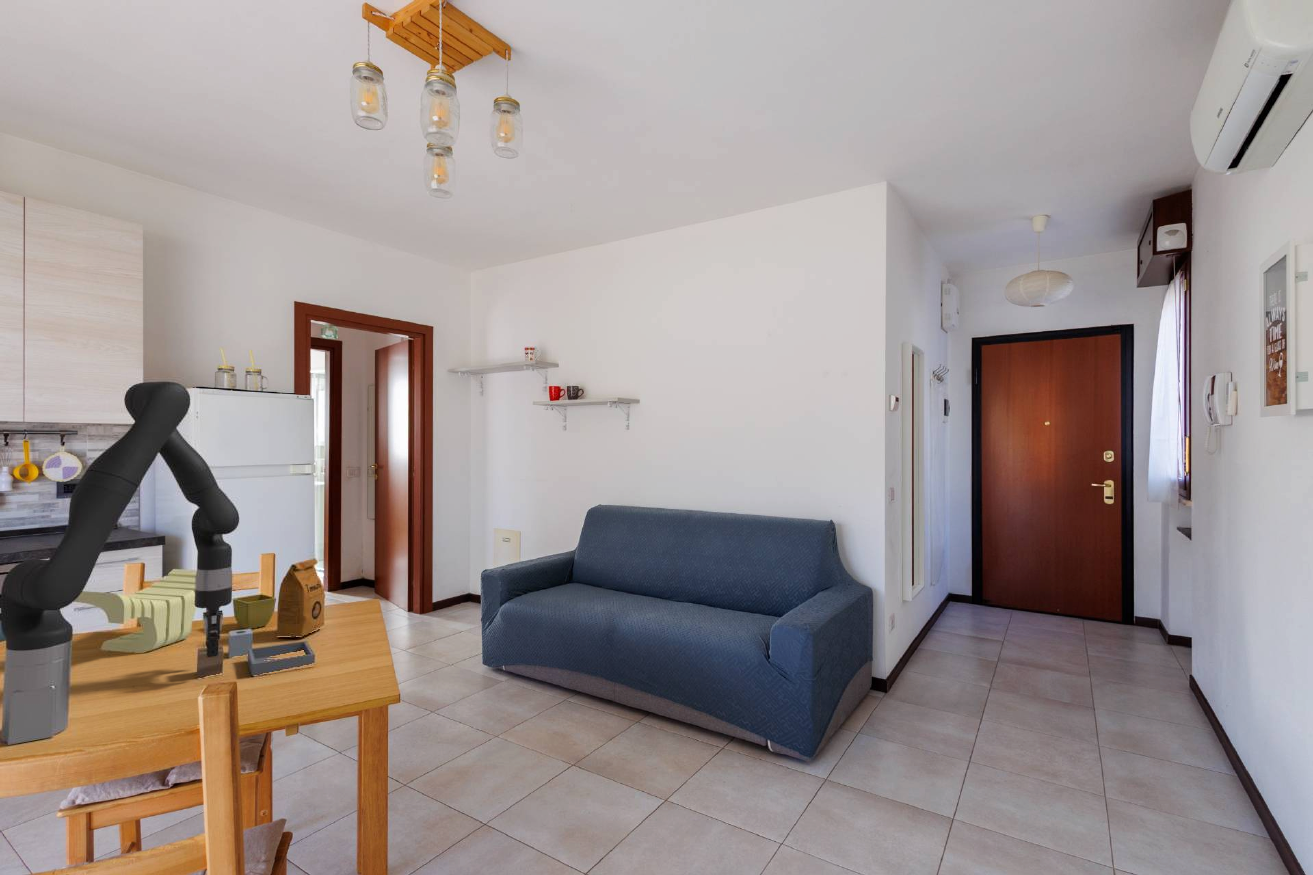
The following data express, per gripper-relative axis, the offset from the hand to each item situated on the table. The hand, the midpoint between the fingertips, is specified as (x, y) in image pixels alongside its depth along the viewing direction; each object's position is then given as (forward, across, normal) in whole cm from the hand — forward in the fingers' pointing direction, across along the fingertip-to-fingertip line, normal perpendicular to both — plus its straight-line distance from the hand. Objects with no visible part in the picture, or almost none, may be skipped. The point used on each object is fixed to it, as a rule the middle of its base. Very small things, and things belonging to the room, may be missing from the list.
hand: (211, 651), depth 154 cm
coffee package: (+6, +25, -23) cm, 34 cm away
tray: (+6, -1, -15) cm, 16 cm away
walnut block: (+6, 0, 0) cm, 6 cm away
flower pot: (+6, +40, -12) cm, 42 cm away
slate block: (+6, +13, -7) cm, 15 cm away
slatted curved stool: (+6, +35, +13) cm, 38 cm away
